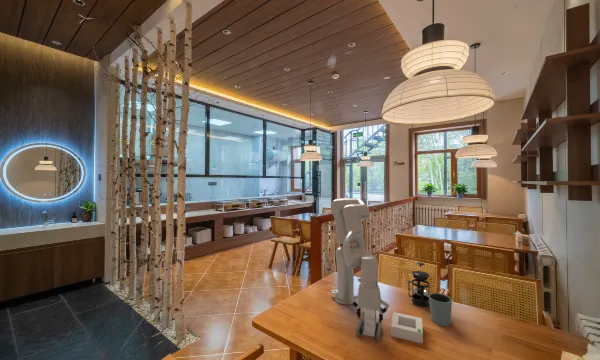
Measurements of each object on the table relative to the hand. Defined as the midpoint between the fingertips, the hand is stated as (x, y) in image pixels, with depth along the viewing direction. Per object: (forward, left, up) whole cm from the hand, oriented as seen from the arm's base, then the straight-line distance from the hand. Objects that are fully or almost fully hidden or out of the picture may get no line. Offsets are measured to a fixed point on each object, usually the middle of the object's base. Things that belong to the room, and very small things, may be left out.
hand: (369, 319), depth 116 cm
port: (+16, +8, -6) cm, 19 cm away
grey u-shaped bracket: (0, 0, -6) cm, 6 cm away
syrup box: (0, 0, -7) cm, 7 cm away
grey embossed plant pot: (+31, +24, -7) cm, 40 cm away
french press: (+22, +40, -7) cm, 46 cm away
